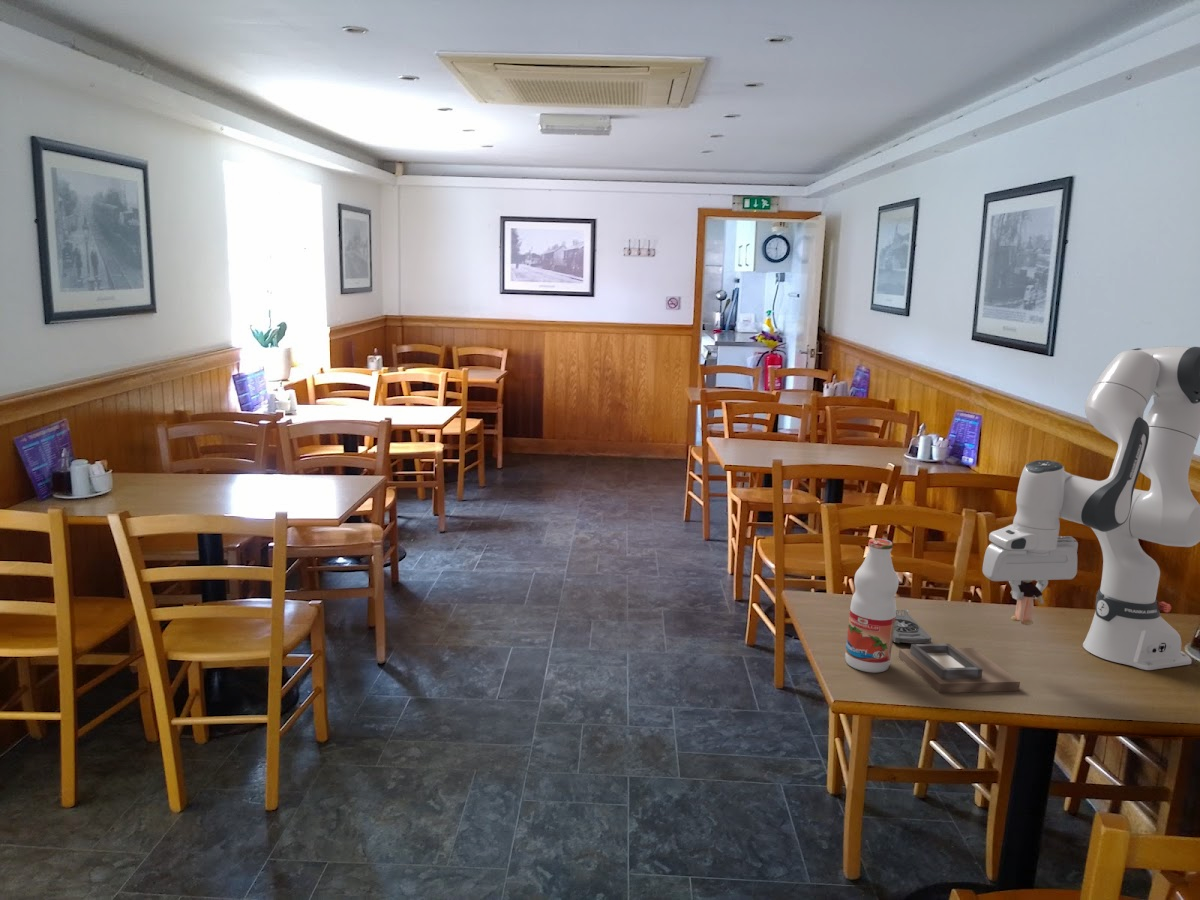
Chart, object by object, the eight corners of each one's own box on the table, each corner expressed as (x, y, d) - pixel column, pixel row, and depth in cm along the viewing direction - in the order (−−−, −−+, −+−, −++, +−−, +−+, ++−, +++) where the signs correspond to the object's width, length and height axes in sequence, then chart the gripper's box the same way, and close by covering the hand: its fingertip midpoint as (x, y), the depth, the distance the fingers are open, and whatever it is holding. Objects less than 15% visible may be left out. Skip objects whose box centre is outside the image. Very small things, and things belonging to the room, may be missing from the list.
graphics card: (860, 607, 215) (908, 608, 215) (859, 622, 216) (907, 622, 216) (884, 635, 198) (936, 636, 199) (883, 650, 199) (934, 651, 199)
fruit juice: (897, 666, 189) (912, 543, 183) (874, 677, 182) (889, 550, 177) (859, 651, 195) (872, 532, 190) (836, 662, 189) (849, 539, 184)
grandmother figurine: (1002, 619, 189) (1006, 564, 186) (1010, 615, 191) (1015, 560, 189) (1038, 629, 183) (1042, 573, 181) (1046, 625, 185) (1051, 568, 183)
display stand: (972, 656, 196) (974, 639, 195) (1018, 690, 180) (1021, 672, 179) (898, 657, 193) (900, 640, 193) (938, 692, 177) (941, 674, 176)
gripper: (1068, 531, 188) (1059, 591, 191) (982, 533, 185) (974, 594, 188) (1088, 540, 182) (1079, 602, 185) (1000, 542, 179) (992, 605, 182)
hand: (1026, 598), depth 186 cm, fingers closed on grandmother figurine, 3 cm apart
